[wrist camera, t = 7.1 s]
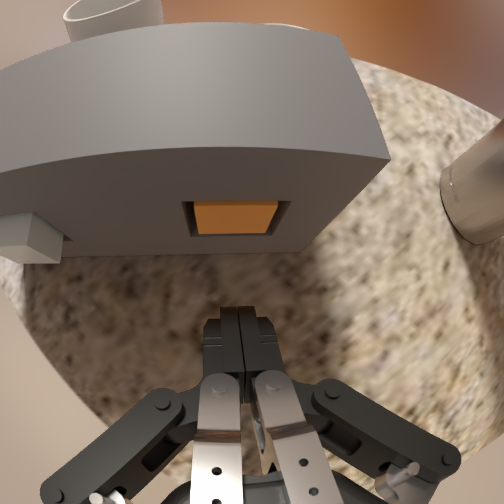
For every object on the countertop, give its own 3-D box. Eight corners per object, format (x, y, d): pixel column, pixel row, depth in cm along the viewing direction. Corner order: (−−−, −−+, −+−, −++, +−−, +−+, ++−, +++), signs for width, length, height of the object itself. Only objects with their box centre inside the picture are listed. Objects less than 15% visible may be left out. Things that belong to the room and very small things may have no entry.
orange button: (260, 177, 17) (271, 141, 13) (265, 232, 16) (278, 205, 12) (199, 177, 16) (196, 140, 13) (198, 234, 15) (193, 206, 12)
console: (288, 156, 22) (338, 35, 11) (300, 252, 20) (391, 159, 9) (41, 171, 19) (-28, 85, 8) (23, 257, 17) (-80, 198, 6)
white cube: (67, 207, 15) (40, 180, 11) (60, 263, 14) (26, 245, 10) (27, 212, 14) (-3, 188, 11) (18, 263, 13) (-16, 247, 10)
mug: (150, 137, 21) (120, 16, 10) (89, 127, 21) (43, 27, 10) (195, 68, 24) (194, -33, 13) (139, 61, 24) (124, -29, 13)
